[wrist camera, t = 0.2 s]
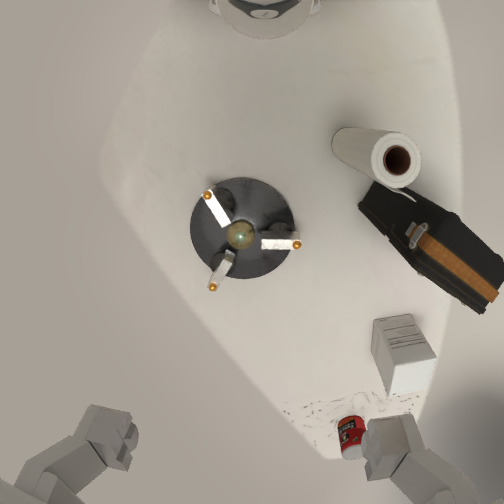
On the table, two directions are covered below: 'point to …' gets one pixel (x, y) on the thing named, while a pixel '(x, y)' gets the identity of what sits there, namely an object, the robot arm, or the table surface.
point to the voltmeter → (436, 245)
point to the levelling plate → (249, 209)
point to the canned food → (351, 436)
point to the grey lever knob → (221, 268)
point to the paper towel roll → (379, 155)
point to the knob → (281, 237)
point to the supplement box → (402, 355)
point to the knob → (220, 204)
